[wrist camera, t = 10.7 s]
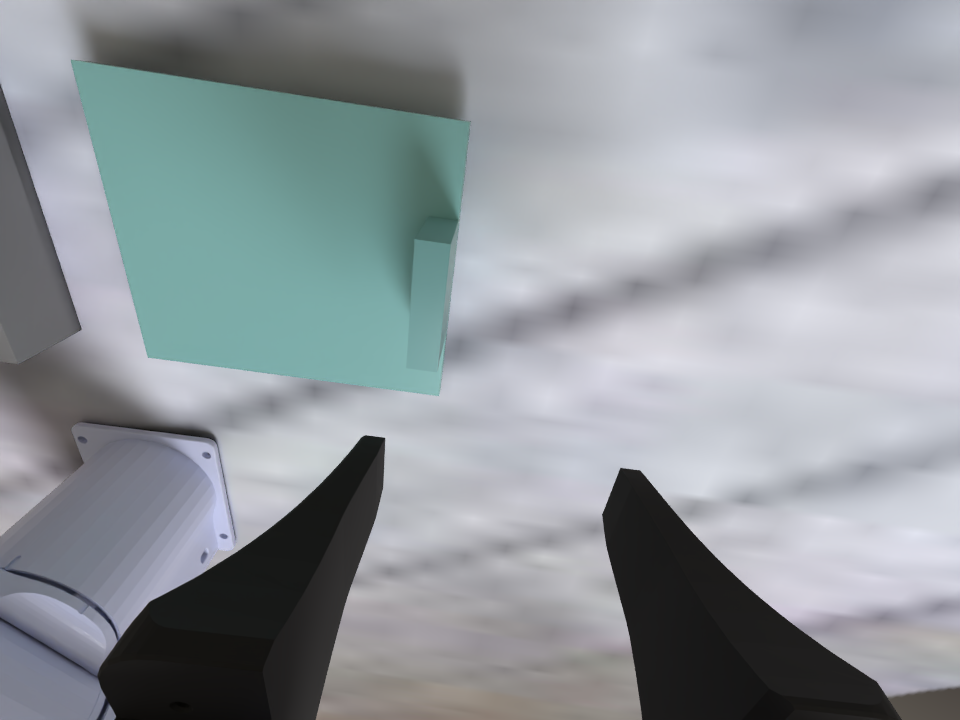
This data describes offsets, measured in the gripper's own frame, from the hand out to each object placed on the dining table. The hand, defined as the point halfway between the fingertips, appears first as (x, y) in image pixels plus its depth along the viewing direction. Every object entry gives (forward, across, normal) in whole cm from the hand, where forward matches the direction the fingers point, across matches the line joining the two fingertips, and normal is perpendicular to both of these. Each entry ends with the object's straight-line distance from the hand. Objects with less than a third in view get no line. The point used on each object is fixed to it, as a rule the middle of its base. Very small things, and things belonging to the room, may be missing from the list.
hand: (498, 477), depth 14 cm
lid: (+9, +10, -3) cm, 13 cm away
